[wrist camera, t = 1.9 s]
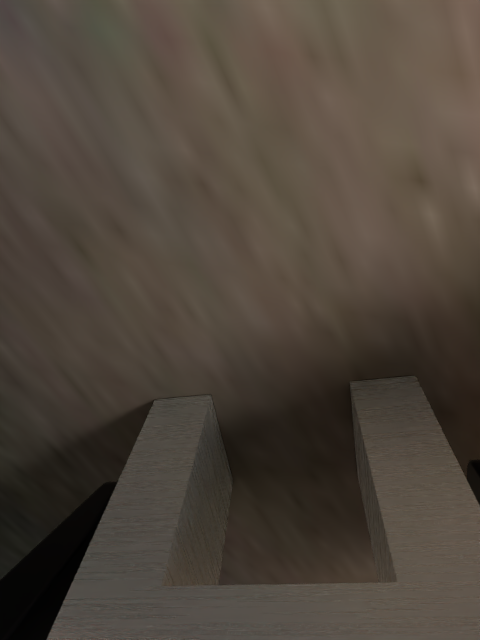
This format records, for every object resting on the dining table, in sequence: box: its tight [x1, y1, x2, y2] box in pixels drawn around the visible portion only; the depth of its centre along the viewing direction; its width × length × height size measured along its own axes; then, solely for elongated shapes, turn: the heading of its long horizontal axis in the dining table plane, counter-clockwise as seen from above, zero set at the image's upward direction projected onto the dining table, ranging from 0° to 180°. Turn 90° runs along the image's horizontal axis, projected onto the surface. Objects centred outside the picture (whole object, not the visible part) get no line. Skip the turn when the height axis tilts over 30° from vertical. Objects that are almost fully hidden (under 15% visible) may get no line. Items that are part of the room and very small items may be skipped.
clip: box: [47, 376, 480, 640], centre depth 7 cm, size 6×3×6 cm, turn 100°
